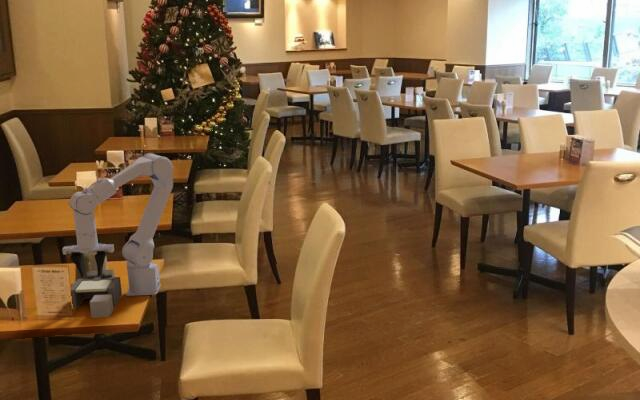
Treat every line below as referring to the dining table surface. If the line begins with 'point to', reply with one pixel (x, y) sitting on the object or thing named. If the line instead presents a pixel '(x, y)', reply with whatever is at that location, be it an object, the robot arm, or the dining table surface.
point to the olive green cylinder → (86, 265)
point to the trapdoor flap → (96, 281)
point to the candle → (93, 262)
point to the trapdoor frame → (112, 289)
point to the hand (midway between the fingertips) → (91, 275)
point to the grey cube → (101, 306)
